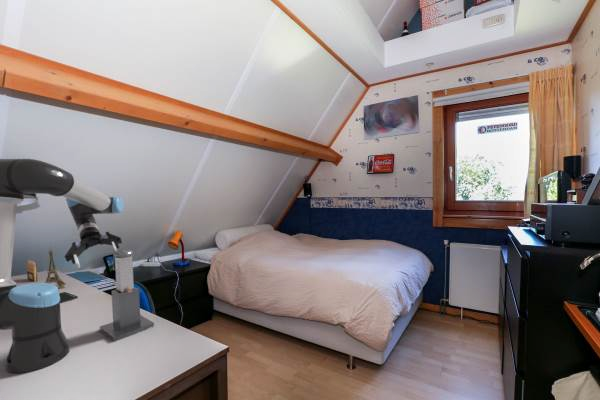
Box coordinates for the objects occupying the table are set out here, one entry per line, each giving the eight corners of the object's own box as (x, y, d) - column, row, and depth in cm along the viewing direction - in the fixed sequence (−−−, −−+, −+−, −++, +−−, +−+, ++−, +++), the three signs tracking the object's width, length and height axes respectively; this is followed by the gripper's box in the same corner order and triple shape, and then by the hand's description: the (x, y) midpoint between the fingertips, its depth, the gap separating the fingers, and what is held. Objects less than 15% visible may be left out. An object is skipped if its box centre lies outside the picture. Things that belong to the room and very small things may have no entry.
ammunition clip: (37, 281, 179) (36, 261, 178) (33, 281, 177) (32, 262, 177) (31, 278, 185) (30, 259, 184) (27, 279, 183) (26, 259, 183)
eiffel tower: (39, 292, 158) (36, 245, 157) (41, 287, 167) (38, 243, 166) (64, 288, 164) (62, 243, 163) (65, 283, 173) (63, 240, 172)
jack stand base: (154, 326, 115) (152, 286, 114) (113, 341, 104) (111, 297, 104) (138, 317, 124) (136, 279, 123) (99, 330, 113) (97, 289, 112)
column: (139, 322, 114) (135, 251, 113) (121, 328, 110) (117, 254, 108) (132, 318, 119) (128, 249, 117) (114, 324, 114) (110, 252, 112)
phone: (64, 291, 156) (78, 296, 148) (64, 293, 156) (78, 298, 148) (46, 296, 149) (59, 302, 142) (46, 299, 149) (59, 304, 142)
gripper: (122, 230, 143) (133, 253, 129) (59, 251, 129) (63, 279, 115) (118, 217, 139) (129, 239, 125) (52, 237, 126) (56, 264, 111)
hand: (98, 258), depth 120 cm, fingers open, 13 cm apart
